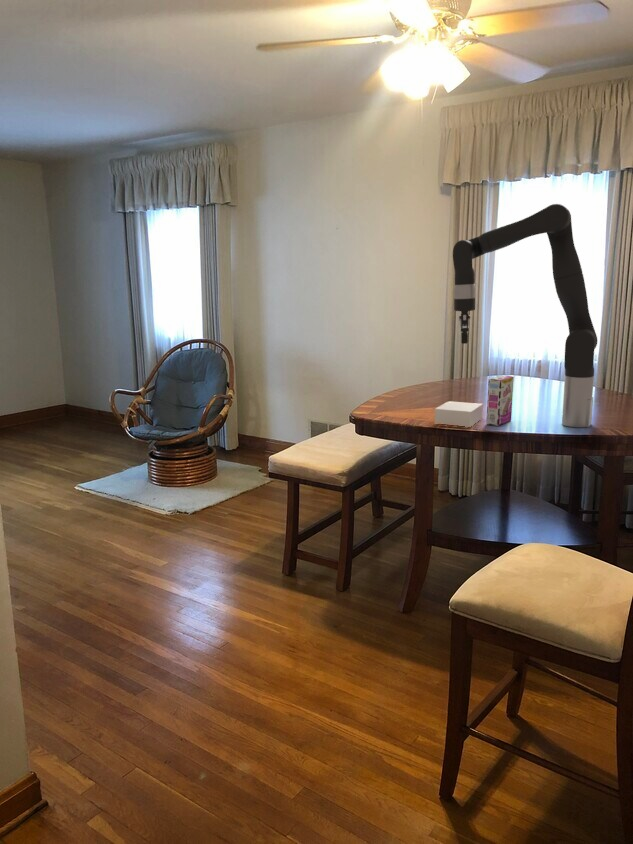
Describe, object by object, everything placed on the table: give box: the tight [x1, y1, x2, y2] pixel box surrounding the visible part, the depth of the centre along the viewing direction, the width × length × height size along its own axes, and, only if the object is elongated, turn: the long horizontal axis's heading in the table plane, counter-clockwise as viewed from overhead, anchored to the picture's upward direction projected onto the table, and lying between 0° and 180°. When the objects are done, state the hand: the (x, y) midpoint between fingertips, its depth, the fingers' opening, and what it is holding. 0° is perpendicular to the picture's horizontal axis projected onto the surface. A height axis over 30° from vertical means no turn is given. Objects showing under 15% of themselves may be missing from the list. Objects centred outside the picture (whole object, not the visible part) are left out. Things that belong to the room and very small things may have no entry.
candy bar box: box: [485, 375, 515, 427], centre depth 232 cm, size 11×5×16 cm, turn 141°
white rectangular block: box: [434, 400, 484, 428], centre depth 236 cm, size 13×15×6 cm
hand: (464, 342), depth 240 cm, fingers open, 8 cm apart
